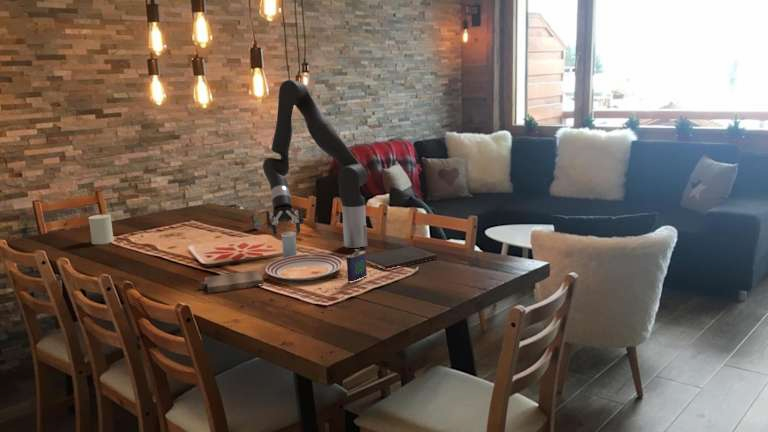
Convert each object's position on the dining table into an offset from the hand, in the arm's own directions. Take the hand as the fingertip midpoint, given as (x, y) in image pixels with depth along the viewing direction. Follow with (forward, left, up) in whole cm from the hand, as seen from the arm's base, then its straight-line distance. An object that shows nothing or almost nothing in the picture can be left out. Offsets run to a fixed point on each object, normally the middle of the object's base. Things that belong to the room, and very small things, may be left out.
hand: (287, 233), depth 251 cm
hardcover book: (-42, +15, -10) cm, 45 cm away
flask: (-25, +36, -9) cm, 44 cm away
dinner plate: (-7, +24, -9) cm, 26 cm away
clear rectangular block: (+13, -53, -9) cm, 56 cm away
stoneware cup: (-1, +4, -9) cm, 10 cm away
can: (+83, -43, -9) cm, 94 cm away
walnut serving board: (+18, +32, -9) cm, 38 cm away
